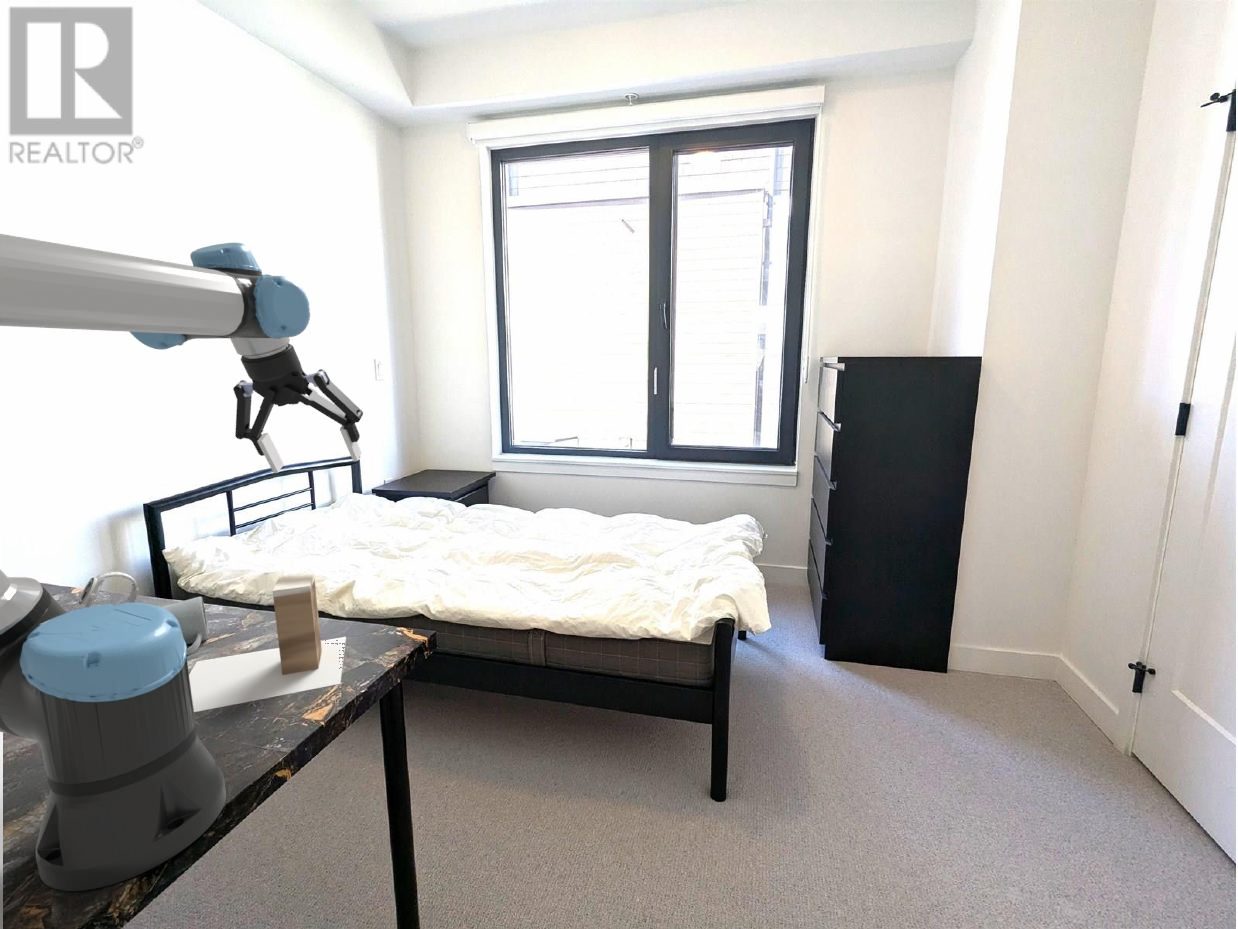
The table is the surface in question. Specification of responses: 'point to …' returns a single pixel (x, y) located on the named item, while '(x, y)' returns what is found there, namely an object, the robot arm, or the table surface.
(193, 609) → the ceramic mug
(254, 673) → the white mat
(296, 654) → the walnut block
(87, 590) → the watch
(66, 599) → the table surface
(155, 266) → the robot arm
